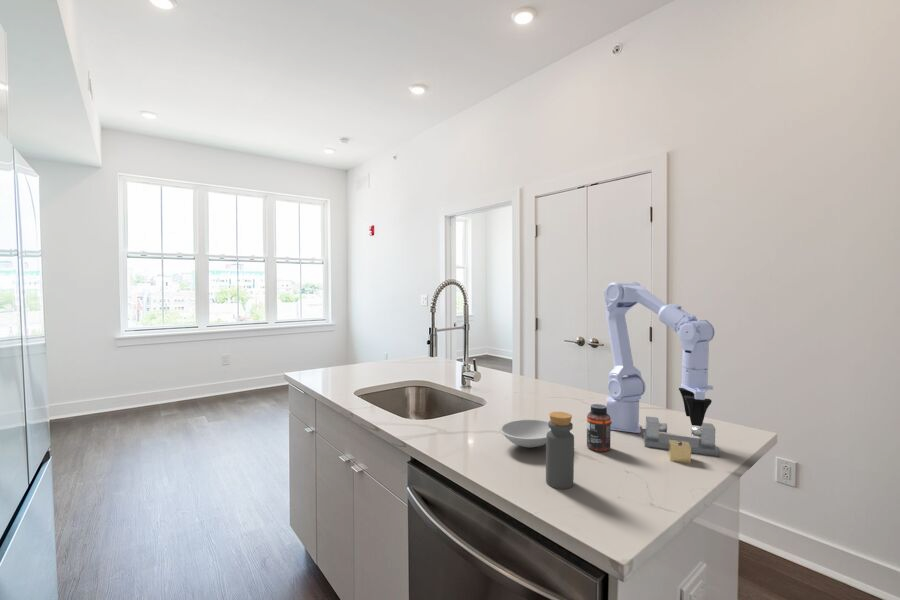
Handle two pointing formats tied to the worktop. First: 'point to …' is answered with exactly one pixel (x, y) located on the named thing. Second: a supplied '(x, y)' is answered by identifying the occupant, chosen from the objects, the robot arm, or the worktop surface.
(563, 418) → the bottle
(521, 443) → the dish
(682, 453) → the block
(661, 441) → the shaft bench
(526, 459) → the worktop surface
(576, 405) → the worktop surface
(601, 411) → the supplement bottle
